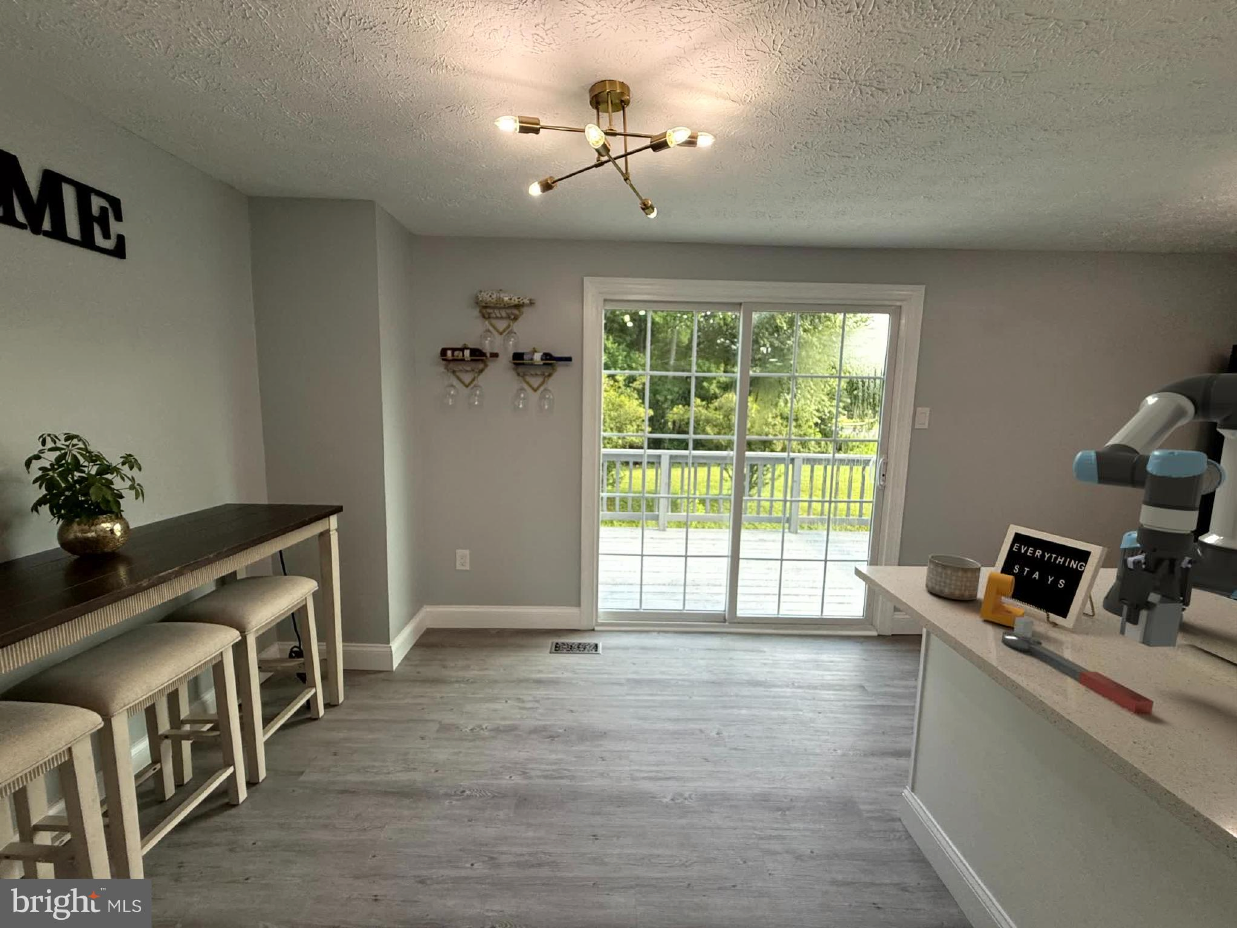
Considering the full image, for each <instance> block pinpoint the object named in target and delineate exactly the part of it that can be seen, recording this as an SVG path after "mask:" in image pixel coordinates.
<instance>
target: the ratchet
mask: <svg viewBox="0 0 1237 928" xmlns="http://www.w3.org/2000/svg"><path fill="white" fill-rule="evenodd" d="M1033 627H1034V621H1033V620H1032V619H1029V618H1027V617H1025V616H1024V617H1016V620H1015V627H1013V628H1014V629H1013V630H1006V631H1005V630H1004V631H1003V632H1002V635H1001V643H1002V644H1003V645H1004V646H1005V647H1007V648H1010V649H1011V650H1014V651H1017V652H1022V653H1024V654H1029V655H1030V656H1032V657H1033V658H1035V659H1037V660H1038V661H1040V662H1042V663H1044V664H1046V665H1048V666H1049V667H1051V668H1053V669H1055V670H1057V671H1058V672H1060V673H1062V674H1064V675H1065V676H1067V677H1069V678H1071V679H1072V680H1074V681H1076V682H1078V683H1079V684H1080V685H1082V686H1083V687H1085V688H1087V689H1089V690H1091V691H1093V692H1094V693H1096V694H1098V695H1100V696H1101V695H1102V696H1101V697H1103V698H1105V697H1106V698H1105V699H1107V698H1108V699H1109V701H1110V700H1111V702H1112V701H1114V702H1115V703H1117V704H1118V706H1119V705H1120V706H1119V707H1121V706H1122V707H1121V708H1122V709H1124V708H1126V709H1128V710H1129V711H1128V710H1127V711H1128V712H1130V711H1131V712H1133V713H1135V714H1134V715H1151V714H1152V713H1153V707H1154V701H1153V700H1152V699H1150V698H1148V697H1146V696H1144V695H1142V694H1140V693H1139V692H1137V691H1135V690H1133V689H1131V688H1129V687H1126V686H1124V685H1123V684H1122V683H1119V682H1117V681H1116V680H1113V678H1109V676H1105V675H1104V674H1103V673H1100V672H1098V671H1091V670H1089V669H1087V668H1085V667H1083V666H1081V665H1079V664H1077V662H1074V661H1072V660H1070V659H1068V658H1066V657H1065V656H1063V655H1061V654H1059V653H1057V652H1055V651H1053V650H1051V649H1049V648H1048V647H1045V646H1043V642H1042V641H1041V639H1039V638H1037V637H1035V636H1033V635H1032V634H1033V629H1034V628H1033ZM1108 699H1107V700H1108ZM1114 702H1113V703H1114ZM1115 703H1114V704H1115ZM1117 704H1116V705H1117ZM1126 709H1125V710H1126ZM1131 712H1130V713H1131ZM1133 713H1132V714H1133ZM1136 713H1137V714H1136Z"/></svg>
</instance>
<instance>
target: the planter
mask: <svg viewBox="0 0 1237 928" xmlns="http://www.w3.org/2000/svg"><path fill="white" fill-rule="evenodd" d="M981 570H982V564H981V563H979V562H977V561H975V560H973V559H970V558H966V557H963V556H959V555H958V556H957V555H953V554H943V553H933V554H930V555H928V560H927V568H926V574H925V575H926V577H925V586H924V587H925V589H927V591H928V592H931V593H932V594H935V595H937V596H940V597H943V598H947V599H951V600H957V601H961V600H962V601H972V600H975V599H977V598H978V592H979V585H980V577H981Z"/></svg>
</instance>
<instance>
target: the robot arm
mask: <svg viewBox="0 0 1237 928" xmlns="http://www.w3.org/2000/svg"><path fill="white" fill-rule="evenodd" d="M1189 422H1215V423H1216V422H1217V424H1216V430H1217V432H1219V433H1220V434H1222V435H1223V436H1224V439H1223V440H1224V441H1223V447H1222V453H1221V459H1220V463H1218V462H1217V461H1214V460H1212V459H1209V458H1208V456H1207V454H1206V453H1204V452H1202V451H1195V450H1183V449H1182V450H1181V449H1162V448H1161V449H1157V448H1158V447H1160V445H1161V444H1162V443H1163V442H1164V441H1165V440H1167V437H1169V436H1170V435H1171V434H1172V432H1173V431H1174V430H1175V429H1176V428H1177V427H1180V426H1181V427H1182V426H1183V425H1186V424H1187V423H1189ZM1072 471H1073V476H1074V478H1075V479H1076V480H1077V481H1080V482H1083V483H1088V484H1089V483H1091V484H1094V485H1103V486H1110V487H1111V486H1112V487H1121V488H1131V489H1137V490H1143V496H1142V497H1143V498H1142V505H1141V510H1140V516H1139V523H1140V524H1141V525H1140V526H1138V527H1137V530H1133V531H1128V532H1126V533H1125V534H1124V535H1123V538H1122V540H1121V545H1120V546H1119V548H1120V551H1119V557H1118V564H1117V570H1116V576H1115V581H1114V583H1113V584H1112V585H1111V587H1110V588H1109V590H1108V591H1107V593H1106V594H1105V596H1104V597H1103V600H1102V604H1101V605H1102V608H1104V609H1105V610H1106V611H1108V612H1110V613H1111V614H1115V615H1117V616H1118V617H1119V616H1120V617H1122V614H1123V608H1124V605H1126V606H1127V613H1126V629H1125V635H1123V636H1124V637H1125V638H1128V639H1130V640H1133V641H1136V642H1137V643H1139V642H1142V641H1143V635H1144V629H1145V623H1146V617H1147V611H1145V610H1143V609H1144V607H1145V605H1146V602H1147V600H1148V598H1149V596H1150V593H1151V592H1152V593H1154V594H1157V595H1160V596H1163V597H1166V598H1169V599H1172V600H1175V601H1178V602H1181V603H1183V607H1182V612H1181V618H1180V624H1179V627H1180V626H1183V622H1184V614H1183V612H1185V611H1186V610H1187V608H1189V606H1190V605H1191V600H1192V593H1193V592H1192V591H1193V590H1197V591H1202V592H1206V593H1210V594H1214V595H1218V596H1219V595H1220V596H1223V597H1227V598H1229V599H1232V600H1234V599H1236V600H1237V372H1234V373H1229V372H1228V373H1203V374H1196V375H1192V376H1188V377H1185V378H1184V377H1183V378H1181V379H1178V380H1175V381H1173V382H1170V383H1167V384H1166V385H1164V386H1162V387H1159V388H1157V389H1156V390H1154V391H1153V392H1151V393H1150V394H1149V395H1147V396H1146V398H1145V399H1143V401H1141V403H1140V405H1139V411H1138V412H1137V413H1135V415H1134V416H1133V417H1132V418H1131V419H1130V420H1129V421H1128V422H1127V423H1126V424H1125V425H1124V426H1123V427H1122V428H1121V429H1120V430H1119V431H1118V432H1117V433H1116V434H1115V435H1114V436H1113V437H1112V438H1111V439H1110V440H1109V441H1108V442H1107V443H1106V444H1105V445H1104V446H1103V447H1101V449H1100V450H1096V449H1093V450H1086V449H1085V450H1081V451H1080V452H1078V453H1077V455H1075V458H1074V460H1073V465H1072ZM1214 491H1215V496H1214V501H1213V506H1212V507H1213V508H1212V513H1211V518H1210V524H1209V531H1208V532H1207V533H1204V534H1203V535H1201V536H1199V537H1198V538H1197V539H1198V540H1197V542H1194V540H1195V534H1194V533H1193V532H1192V531H1195V530H1196V529H1197V523H1198V518H1199V508H1200V502H1201V497H1202V495H1206V494H1210V493H1213V492H1214Z"/></svg>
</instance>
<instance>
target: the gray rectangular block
mask: <svg viewBox="0 0 1237 928" xmlns="http://www.w3.org/2000/svg"><path fill="white" fill-rule="evenodd" d="M1182 607H1184V606H1183V603H1181V602H1178V601H1175V600H1172V599H1169V598H1166V597H1163V596H1160V595H1157V594H1154V593H1152V592H1151V593H1150V596H1149V598H1148V600H1147V602H1146V605H1145V607H1144V609H1143V610H1145V611H1147V617H1146V623H1145V629H1144V635H1143V641H1142V642H1138V643H1140V644H1142V645H1144V646H1146V647H1149V648H1157V647H1158V648H1164V647H1165V648H1167V647H1169V648H1170V647H1172V648H1173V647H1176V644H1177V640H1178V633H1179V629H1180V626H1179V624H1180V618H1181V612H1182ZM1126 613H1127V606H1126V605H1124V608H1123V614H1122V616H1121V621H1120V626H1119V633H1118V634H1119V635H1121V636H1124V635H1125V629H1126ZM1182 613H1183V612H1182Z"/></svg>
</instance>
